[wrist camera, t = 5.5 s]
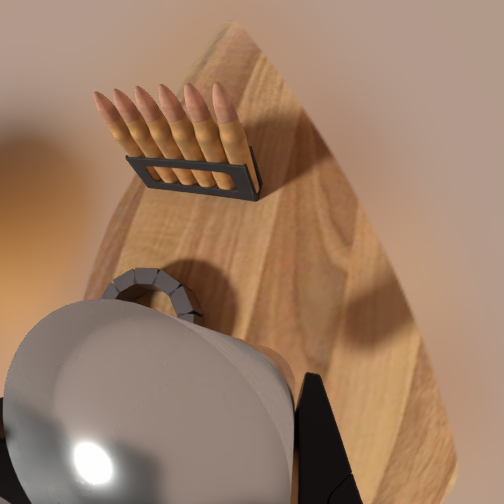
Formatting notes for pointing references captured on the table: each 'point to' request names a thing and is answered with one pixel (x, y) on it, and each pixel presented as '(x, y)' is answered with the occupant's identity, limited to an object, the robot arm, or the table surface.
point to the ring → (156, 280)
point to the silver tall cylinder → (147, 411)
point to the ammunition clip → (184, 142)
